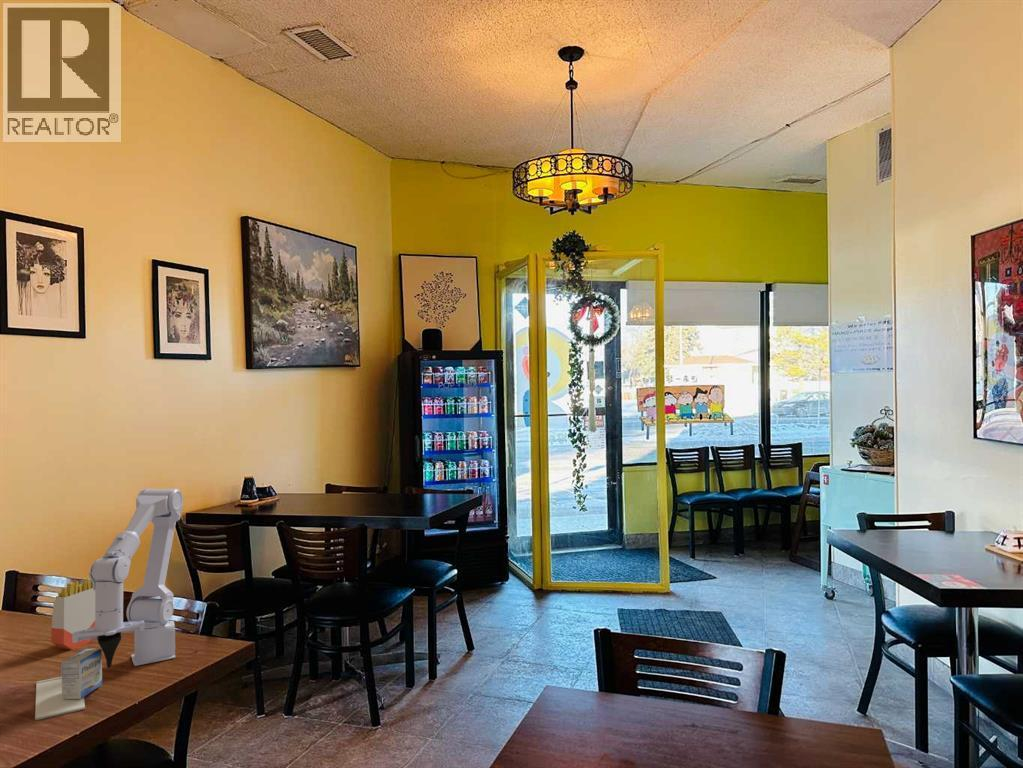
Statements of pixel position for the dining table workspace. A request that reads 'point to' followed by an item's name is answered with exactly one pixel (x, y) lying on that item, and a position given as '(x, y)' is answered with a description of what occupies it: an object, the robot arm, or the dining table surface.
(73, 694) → the medicine box
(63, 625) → the french fries container
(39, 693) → the cream flat slab
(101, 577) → the robot arm
